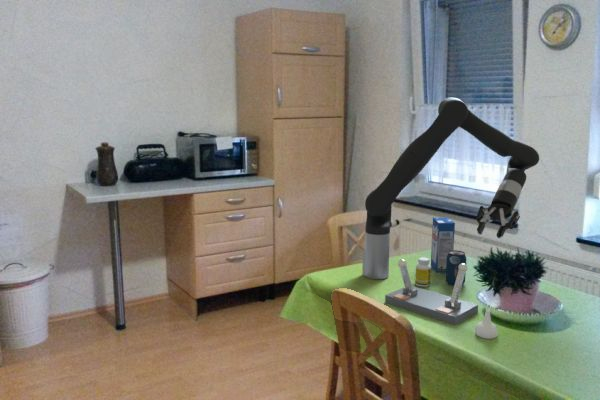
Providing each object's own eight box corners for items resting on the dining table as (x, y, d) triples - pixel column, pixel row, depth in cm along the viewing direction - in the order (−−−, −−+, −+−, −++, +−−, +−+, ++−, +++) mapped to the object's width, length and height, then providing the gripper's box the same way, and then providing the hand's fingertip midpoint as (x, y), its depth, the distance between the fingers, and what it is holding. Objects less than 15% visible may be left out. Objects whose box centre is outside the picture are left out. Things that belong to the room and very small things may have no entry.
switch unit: (385, 302, 185) (385, 289, 184) (409, 291, 194) (409, 280, 194) (455, 324, 166) (455, 311, 166) (477, 312, 176) (478, 299, 175)
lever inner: (404, 292, 185) (395, 262, 179) (408, 287, 187) (400, 257, 181) (411, 294, 183) (402, 263, 177) (415, 289, 185) (407, 258, 179)
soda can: (457, 288, 198) (459, 256, 196) (441, 283, 203) (443, 252, 201) (468, 284, 202) (470, 252, 200) (452, 279, 207) (453, 248, 205)
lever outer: (447, 301, 174) (458, 261, 176) (451, 302, 176) (462, 263, 178) (455, 303, 172) (466, 263, 174) (459, 305, 174) (470, 265, 176)
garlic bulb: (470, 335, 161) (469, 309, 159) (485, 328, 164) (485, 303, 162) (487, 343, 155) (487, 317, 154) (502, 336, 158) (502, 310, 156)
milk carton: (452, 273, 215) (454, 223, 211) (436, 273, 215) (438, 223, 211) (446, 265, 225) (448, 217, 221) (430, 265, 225) (432, 217, 221)
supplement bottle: (430, 287, 199) (431, 261, 197) (415, 286, 200) (416, 260, 198) (430, 282, 204) (431, 257, 202) (415, 281, 205) (416, 256, 203)
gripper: (484, 186, 194) (465, 225, 188) (524, 191, 184) (506, 232, 178) (490, 199, 199) (472, 237, 193) (530, 205, 189) (512, 245, 183)
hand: (488, 234), depth 185 cm, fingers open, 6 cm apart
